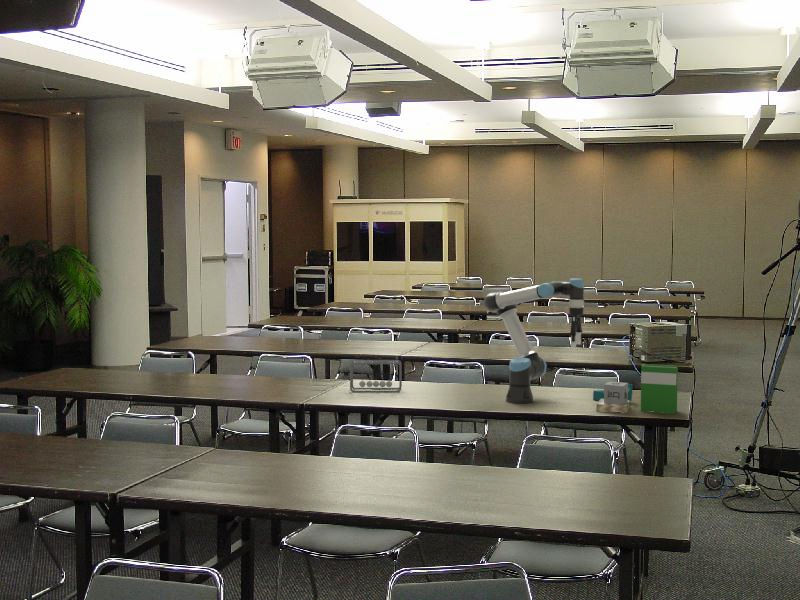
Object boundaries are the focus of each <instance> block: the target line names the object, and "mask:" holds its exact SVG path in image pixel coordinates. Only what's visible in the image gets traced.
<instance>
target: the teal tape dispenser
mask: <svg viewBox="0 0 800 600" xmlns="http://www.w3.org/2000/svg"><path fill="white" fill-rule="evenodd" d="M633 385H634V384H632V383H631V384H630V383H628V400H629V401H630V402H632V399H633V388H634V387H633ZM592 391H593V394H592V400H594V401H597V402H599V401H600V399H604V389H597V390H592Z"/></svg>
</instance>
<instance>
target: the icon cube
mask: <svg viewBox="0 0 800 600" xmlns="http://www.w3.org/2000/svg"><path fill="white" fill-rule="evenodd" d="M628 384H629V382H621V381H620V382H619V381H607V382H606V383H604V384H603V390H604V403H606V404H617V405H624V404H625V403H627V402H628Z"/></svg>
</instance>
